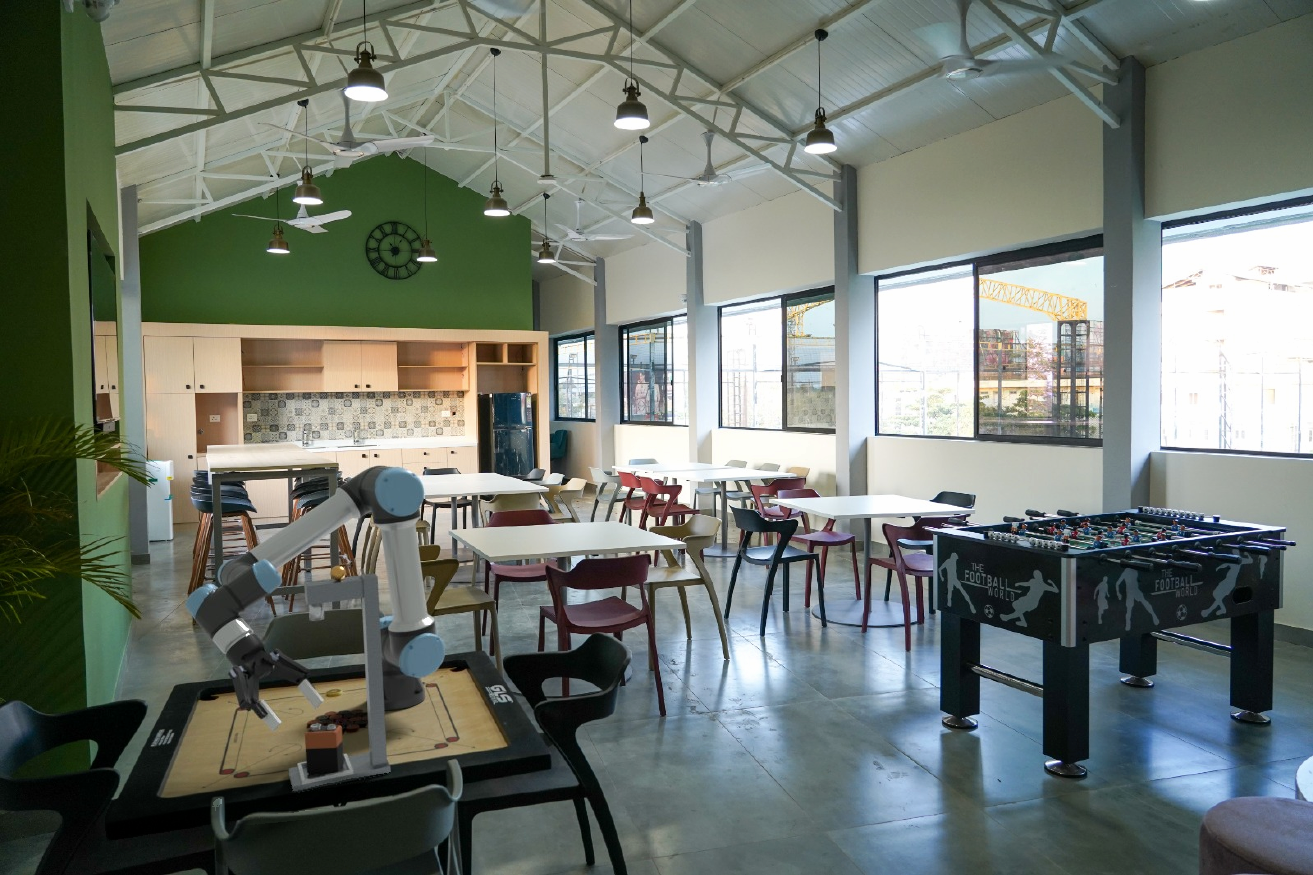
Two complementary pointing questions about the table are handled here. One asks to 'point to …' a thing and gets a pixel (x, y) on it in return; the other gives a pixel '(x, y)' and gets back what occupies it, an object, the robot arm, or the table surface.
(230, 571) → the robot arm
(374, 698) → the arbor press
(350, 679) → the table surface
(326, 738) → the battery
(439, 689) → the table surface
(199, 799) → the table surface
